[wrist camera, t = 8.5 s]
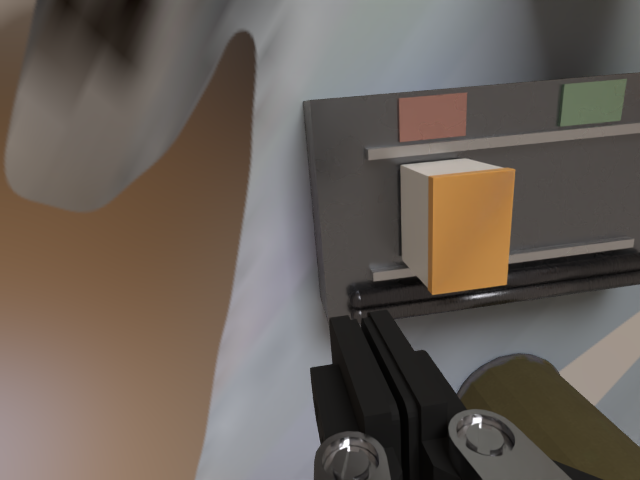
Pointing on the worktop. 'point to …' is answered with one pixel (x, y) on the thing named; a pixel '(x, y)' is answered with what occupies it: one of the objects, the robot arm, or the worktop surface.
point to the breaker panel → (491, 148)
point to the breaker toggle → (456, 223)
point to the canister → (552, 416)
